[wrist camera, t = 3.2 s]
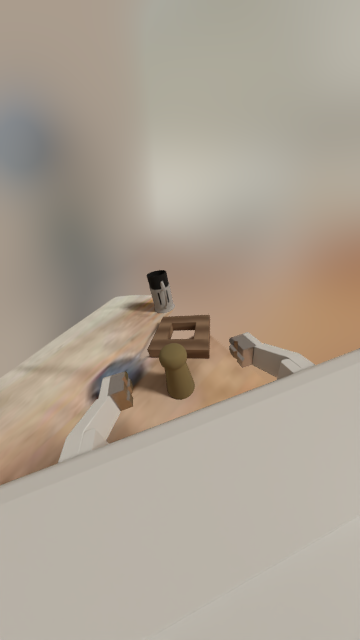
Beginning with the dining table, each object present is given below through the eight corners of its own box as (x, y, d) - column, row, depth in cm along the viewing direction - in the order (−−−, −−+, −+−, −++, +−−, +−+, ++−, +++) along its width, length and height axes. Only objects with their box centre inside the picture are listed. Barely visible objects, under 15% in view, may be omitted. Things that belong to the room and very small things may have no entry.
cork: (190, 402, 30) (182, 364, 24) (163, 396, 32) (148, 359, 26) (197, 376, 35) (191, 339, 29) (172, 372, 37) (162, 337, 31)
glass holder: (171, 301, 70) (164, 268, 62) (181, 314, 59) (175, 276, 51) (153, 306, 69) (143, 273, 61) (160, 321, 57) (149, 283, 49)
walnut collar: (209, 358, 38) (208, 349, 37) (150, 357, 42) (147, 349, 40) (209, 322, 51) (209, 314, 50) (164, 323, 55) (163, 316, 53)
